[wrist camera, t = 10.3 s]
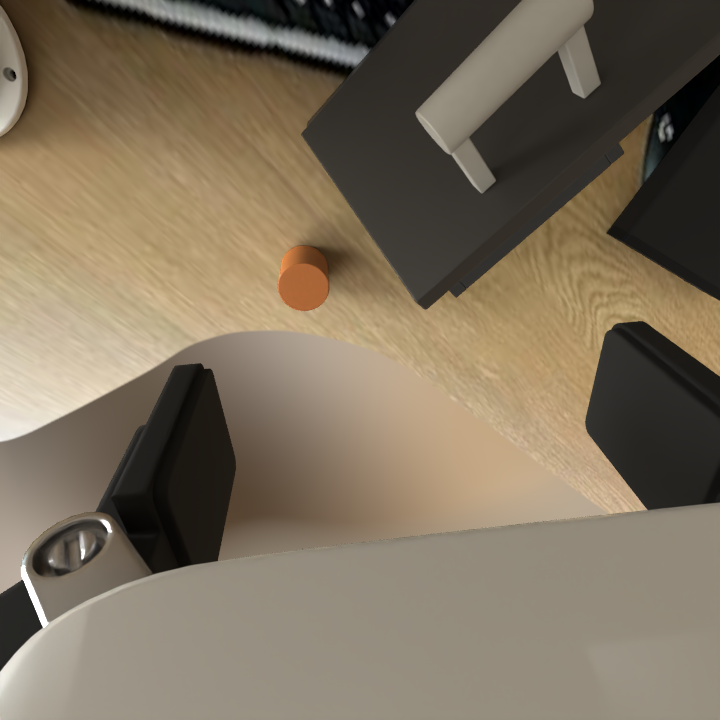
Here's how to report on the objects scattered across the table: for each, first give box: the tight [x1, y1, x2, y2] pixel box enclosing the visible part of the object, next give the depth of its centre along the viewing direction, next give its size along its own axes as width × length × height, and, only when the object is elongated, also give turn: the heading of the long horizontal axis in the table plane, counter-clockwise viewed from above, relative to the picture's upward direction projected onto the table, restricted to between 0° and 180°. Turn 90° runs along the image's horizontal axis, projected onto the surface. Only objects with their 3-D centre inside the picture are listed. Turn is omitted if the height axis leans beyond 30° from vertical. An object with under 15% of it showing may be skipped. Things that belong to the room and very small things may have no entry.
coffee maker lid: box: [301, 0, 720, 309], centre depth 20 cm, size 16×14×5 cm
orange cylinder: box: [278, 246, 329, 311], centre depth 43 cm, size 4×4×5 cm
